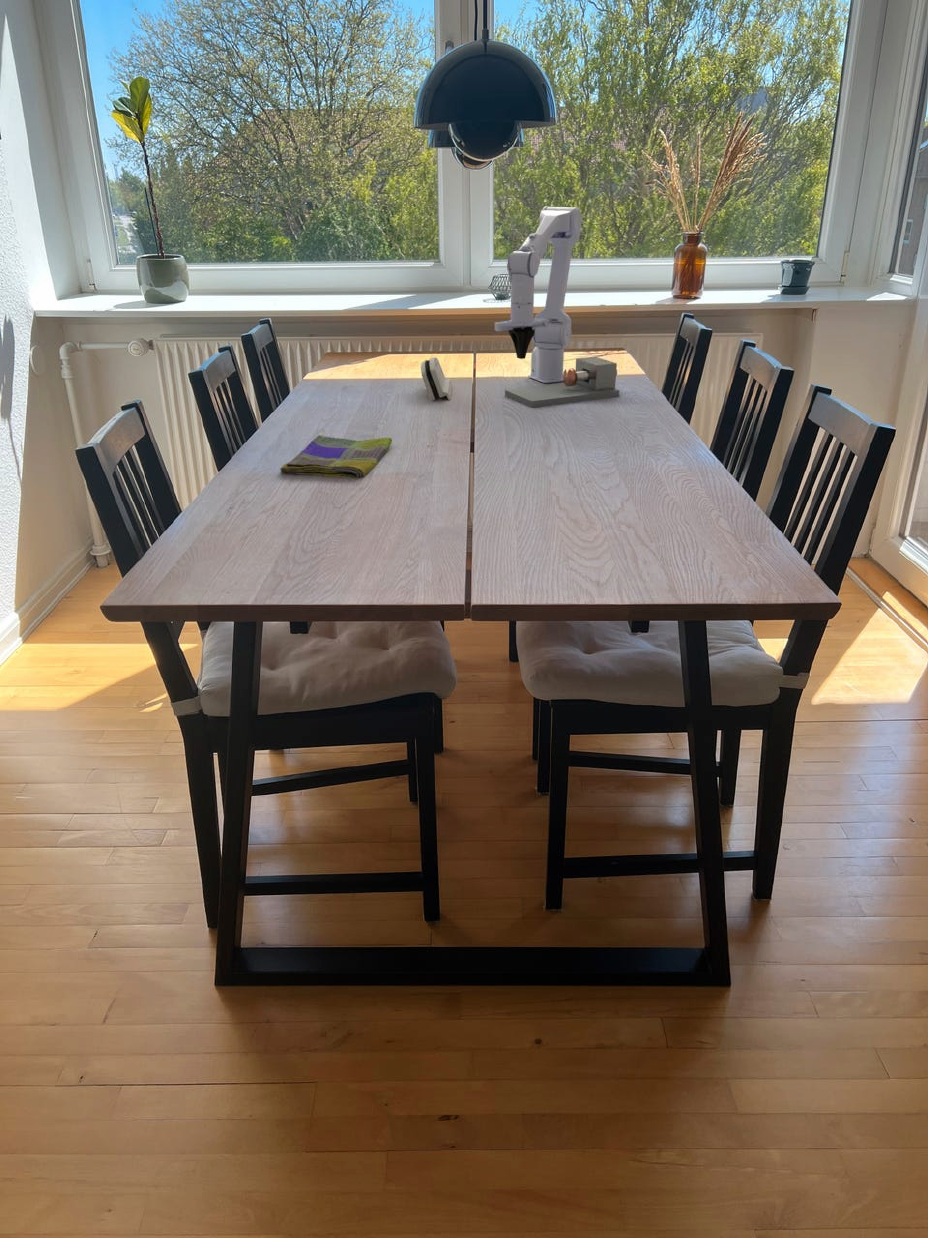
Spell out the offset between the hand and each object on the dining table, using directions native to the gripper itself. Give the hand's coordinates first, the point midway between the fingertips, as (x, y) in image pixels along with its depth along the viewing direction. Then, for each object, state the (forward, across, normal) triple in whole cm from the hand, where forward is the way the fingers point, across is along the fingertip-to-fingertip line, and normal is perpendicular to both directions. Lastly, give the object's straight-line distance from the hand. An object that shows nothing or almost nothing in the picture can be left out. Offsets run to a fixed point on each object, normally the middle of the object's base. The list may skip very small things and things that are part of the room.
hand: (521, 357), depth 239 cm
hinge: (+10, -18, +12) cm, 24 cm away
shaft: (+7, +18, -6) cm, 20 cm away
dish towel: (+10, -61, -33) cm, 70 cm away
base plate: (+9, +9, -6) cm, 14 cm away
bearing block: (+8, +19, -6) cm, 21 cm away
